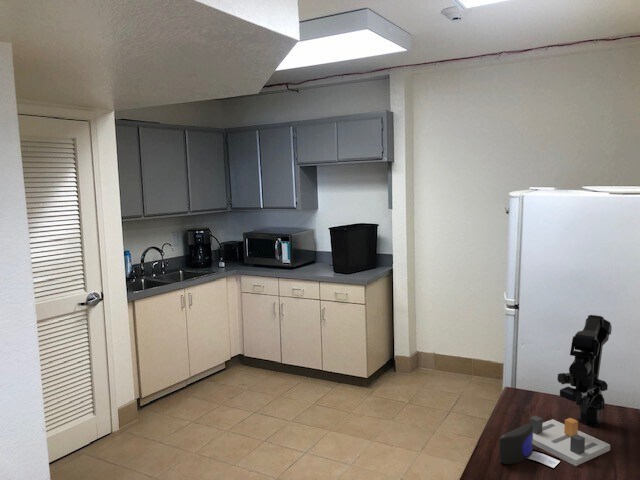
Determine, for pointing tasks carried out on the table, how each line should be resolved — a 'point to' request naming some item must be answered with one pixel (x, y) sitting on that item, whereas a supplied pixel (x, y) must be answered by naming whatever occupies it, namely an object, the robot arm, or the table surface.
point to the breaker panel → (566, 442)
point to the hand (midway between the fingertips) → (583, 412)
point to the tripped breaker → (571, 427)
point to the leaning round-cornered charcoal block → (516, 445)
